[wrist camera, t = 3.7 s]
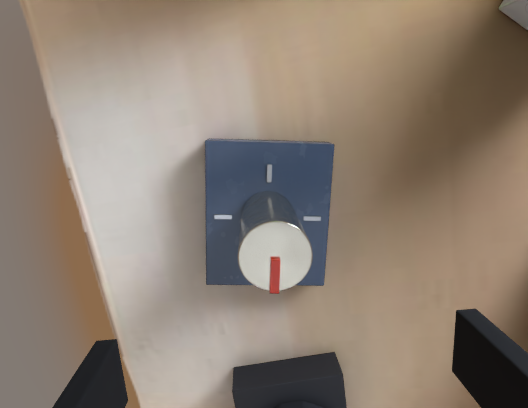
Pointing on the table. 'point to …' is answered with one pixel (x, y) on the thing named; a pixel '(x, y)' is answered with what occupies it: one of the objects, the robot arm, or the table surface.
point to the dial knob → (272, 243)
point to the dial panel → (259, 180)
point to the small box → (516, 11)
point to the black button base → (290, 383)
